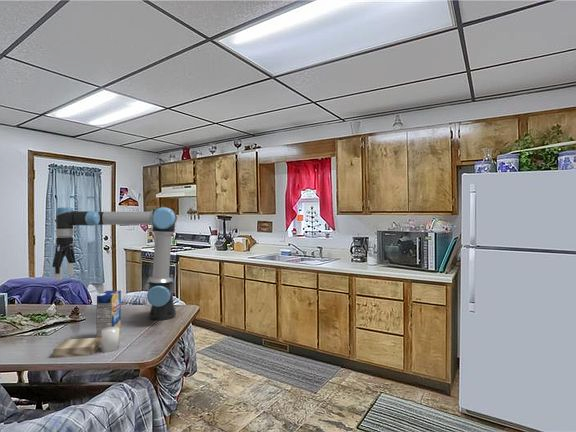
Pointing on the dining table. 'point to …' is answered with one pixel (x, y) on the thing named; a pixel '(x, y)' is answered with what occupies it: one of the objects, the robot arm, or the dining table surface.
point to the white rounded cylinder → (110, 339)
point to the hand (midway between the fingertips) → (64, 277)
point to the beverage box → (108, 311)
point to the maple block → (77, 347)
